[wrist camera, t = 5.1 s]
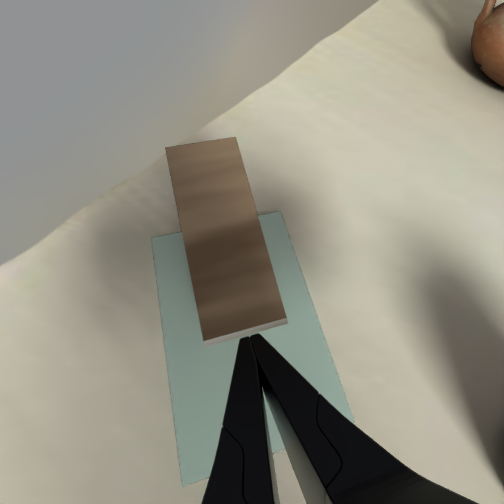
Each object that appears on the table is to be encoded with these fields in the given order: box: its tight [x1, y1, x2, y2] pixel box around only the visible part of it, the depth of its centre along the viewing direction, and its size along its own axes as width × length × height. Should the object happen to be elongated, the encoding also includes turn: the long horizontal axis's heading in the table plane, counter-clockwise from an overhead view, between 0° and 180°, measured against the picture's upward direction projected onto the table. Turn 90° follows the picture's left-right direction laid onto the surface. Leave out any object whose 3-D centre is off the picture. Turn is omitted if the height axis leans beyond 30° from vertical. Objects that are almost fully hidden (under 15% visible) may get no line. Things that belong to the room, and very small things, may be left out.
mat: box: [151, 211, 355, 487], centre depth 16 cm, size 16×11×1 cm
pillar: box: [165, 137, 288, 347], centre depth 15 cm, size 4×4×12 cm
